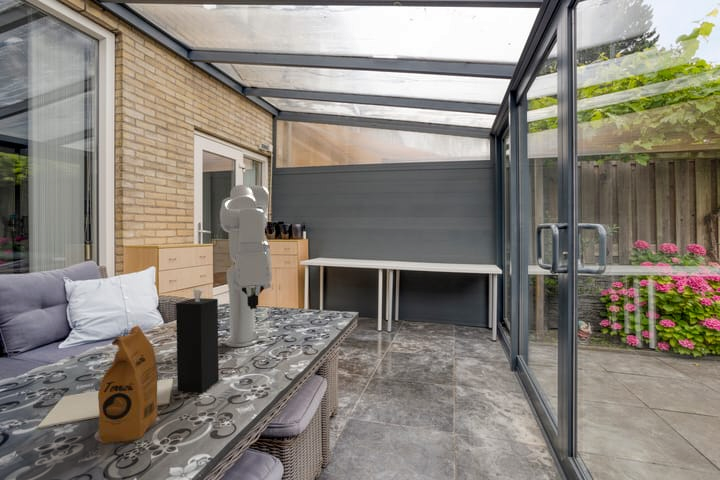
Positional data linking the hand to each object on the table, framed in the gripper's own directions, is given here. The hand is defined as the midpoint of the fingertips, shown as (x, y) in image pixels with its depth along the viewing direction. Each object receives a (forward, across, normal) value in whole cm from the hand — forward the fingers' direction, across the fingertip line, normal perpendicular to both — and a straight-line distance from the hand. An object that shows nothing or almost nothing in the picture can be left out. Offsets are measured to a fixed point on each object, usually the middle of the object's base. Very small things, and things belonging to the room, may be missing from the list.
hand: (253, 308), depth 104 cm
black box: (+21, +15, 0) cm, 26 cm away
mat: (+21, +35, 0) cm, 41 cm away
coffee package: (+21, +29, +17) cm, 40 cm away
